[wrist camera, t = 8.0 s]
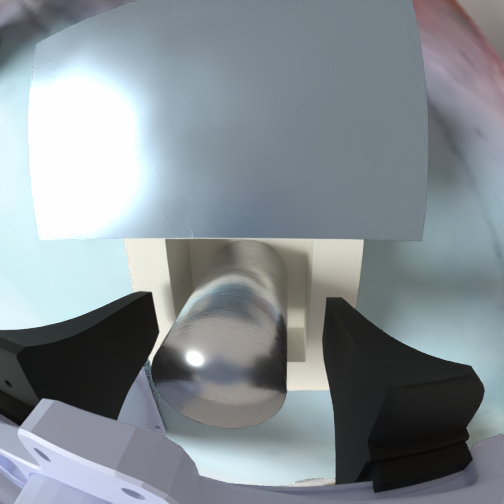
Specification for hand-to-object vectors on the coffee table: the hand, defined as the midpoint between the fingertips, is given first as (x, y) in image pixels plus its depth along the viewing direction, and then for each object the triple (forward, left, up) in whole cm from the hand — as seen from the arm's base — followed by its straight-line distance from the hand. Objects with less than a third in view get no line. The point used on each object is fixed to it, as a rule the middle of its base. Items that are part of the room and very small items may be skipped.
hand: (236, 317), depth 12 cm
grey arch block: (+8, 0, -5) cm, 9 cm away
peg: (0, 0, -4) cm, 4 cm away
